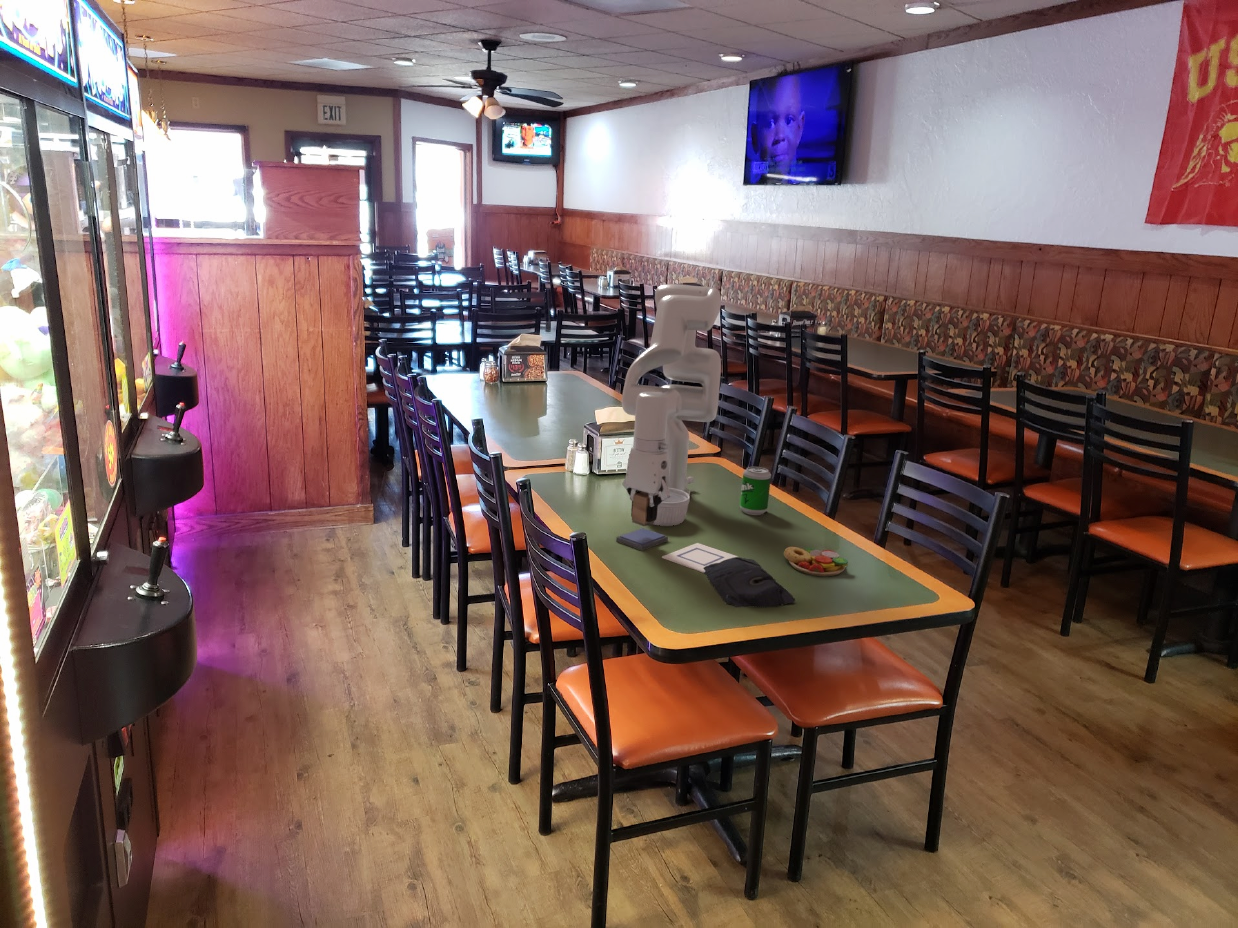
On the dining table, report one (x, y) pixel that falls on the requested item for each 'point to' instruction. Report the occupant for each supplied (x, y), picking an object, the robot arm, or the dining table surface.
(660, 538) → the ink pad
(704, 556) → the sheet
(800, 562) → the toy food set
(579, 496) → the dining table surface
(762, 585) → the black fabric pouch
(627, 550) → the dining table surface
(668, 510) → the ramekin
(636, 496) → the stamp
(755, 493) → the soda can
